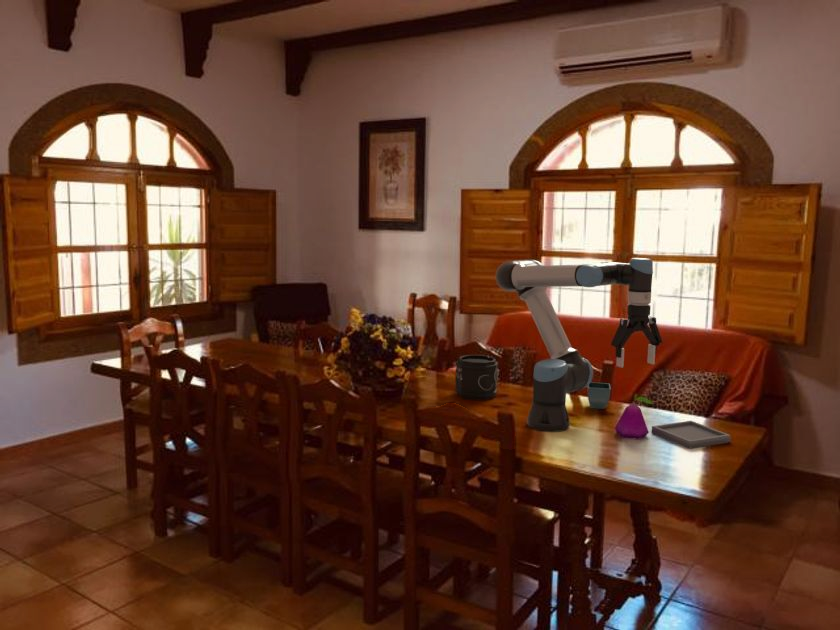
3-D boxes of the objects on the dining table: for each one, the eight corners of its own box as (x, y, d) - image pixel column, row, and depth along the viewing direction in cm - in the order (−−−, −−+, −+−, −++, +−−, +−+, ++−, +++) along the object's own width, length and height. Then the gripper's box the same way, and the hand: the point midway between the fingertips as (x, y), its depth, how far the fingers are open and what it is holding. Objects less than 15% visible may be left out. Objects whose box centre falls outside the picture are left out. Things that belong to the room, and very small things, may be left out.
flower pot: (609, 411, 280) (611, 388, 279) (586, 409, 282) (587, 387, 281) (608, 405, 289) (609, 383, 288) (586, 403, 291) (587, 381, 289)
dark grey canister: (505, 393, 304) (506, 357, 302) (485, 403, 290) (487, 364, 287) (468, 387, 314) (468, 352, 312) (447, 396, 299) (447, 359, 297)
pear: (630, 441, 244) (633, 398, 242) (608, 432, 254) (610, 391, 251) (655, 437, 249) (657, 395, 247) (632, 428, 259) (634, 387, 256)
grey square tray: (689, 448, 237) (689, 441, 237) (651, 433, 254) (651, 426, 253) (730, 442, 245) (730, 435, 244) (690, 427, 261) (691, 420, 260)
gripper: (617, 307, 236) (613, 370, 239) (675, 303, 247) (671, 364, 250) (602, 304, 243) (599, 365, 246) (659, 300, 253) (655, 360, 256)
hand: (635, 365), depth 248 cm, fingers open, 13 cm apart
